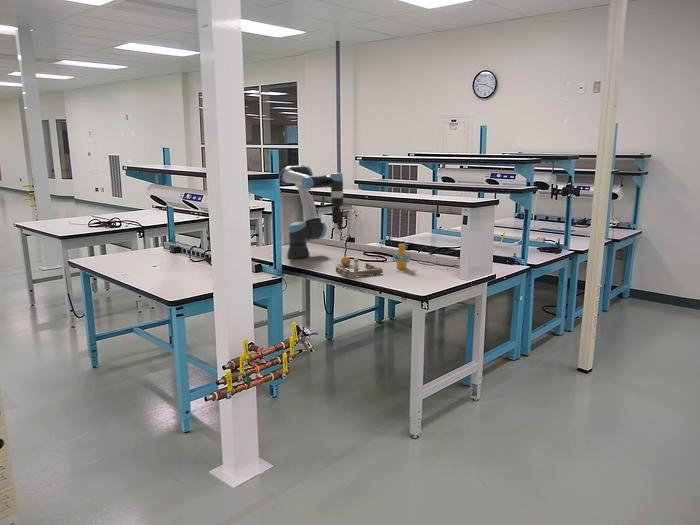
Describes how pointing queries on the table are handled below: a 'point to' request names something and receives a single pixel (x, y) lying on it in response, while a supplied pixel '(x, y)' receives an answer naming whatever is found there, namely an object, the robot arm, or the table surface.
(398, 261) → the orange toy figure
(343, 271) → the pin pen
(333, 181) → the robot arm
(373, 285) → the table surface
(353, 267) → the lane tape
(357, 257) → the pin
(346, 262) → the ball
